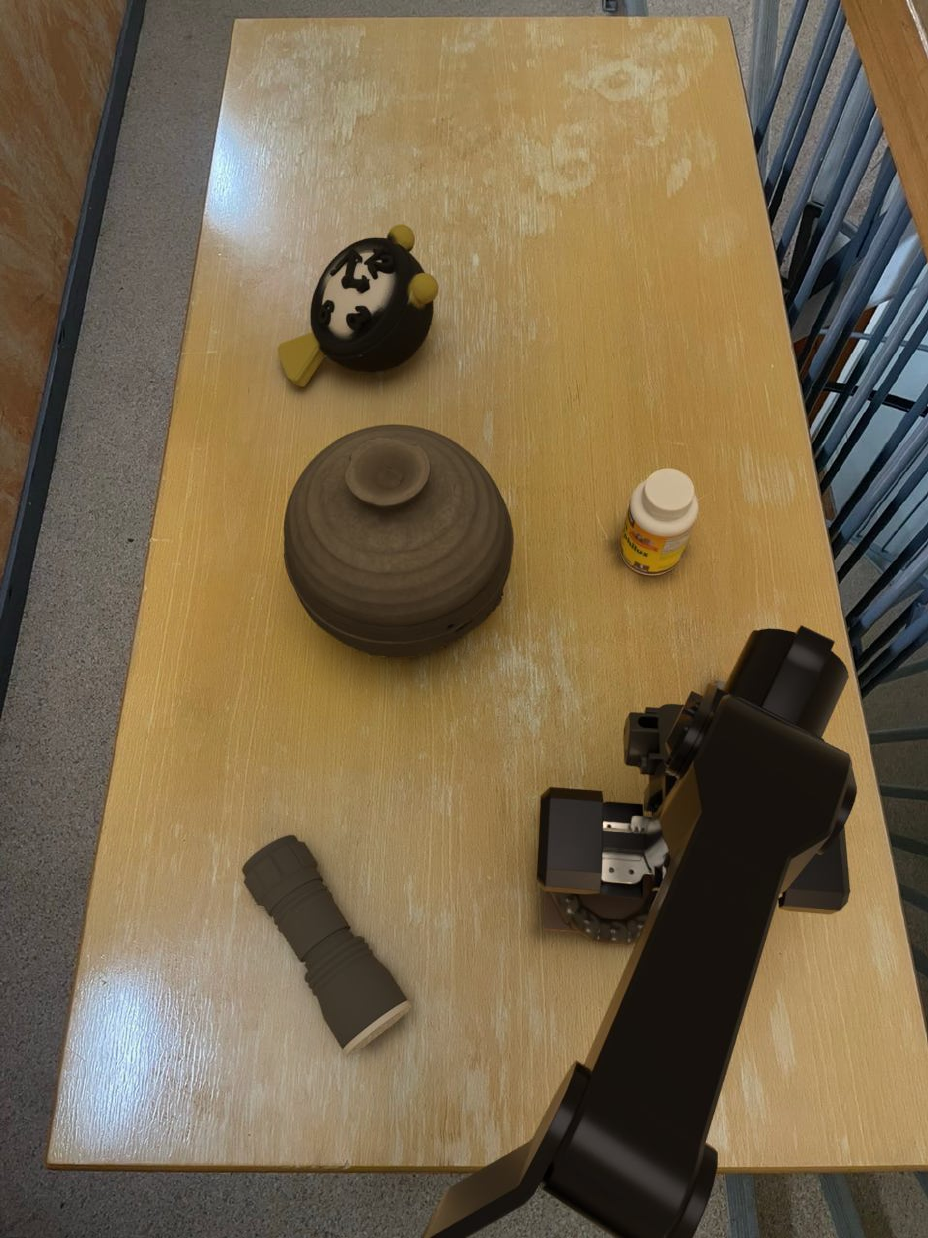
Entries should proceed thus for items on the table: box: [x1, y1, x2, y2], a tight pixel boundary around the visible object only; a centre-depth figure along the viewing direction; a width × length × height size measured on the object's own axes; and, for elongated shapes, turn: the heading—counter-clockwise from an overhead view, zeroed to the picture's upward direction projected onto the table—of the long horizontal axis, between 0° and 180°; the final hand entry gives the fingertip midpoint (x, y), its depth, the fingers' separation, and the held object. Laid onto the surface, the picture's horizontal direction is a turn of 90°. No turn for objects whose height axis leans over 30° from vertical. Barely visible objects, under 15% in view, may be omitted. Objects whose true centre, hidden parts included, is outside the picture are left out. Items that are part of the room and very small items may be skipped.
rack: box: [542, 855, 654, 934], centre depth 67 cm, size 8×8×8 cm
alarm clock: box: [277, 223, 439, 388], centre depth 88 cm, size 12×15×15 cm
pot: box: [283, 423, 515, 659], centre depth 72 cm, size 18×18×20 cm
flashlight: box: [241, 834, 412, 1057], centre depth 66 cm, size 15×5×5 cm, turn 36°
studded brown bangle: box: [549, 829, 658, 947], centre depth 68 cm, size 10×10×2 cm
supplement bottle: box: [618, 467, 700, 576], centre depth 77 cm, size 6×6×10 cm
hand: (665, 872), depth 65 cm, fingers open, 4 cm apart
